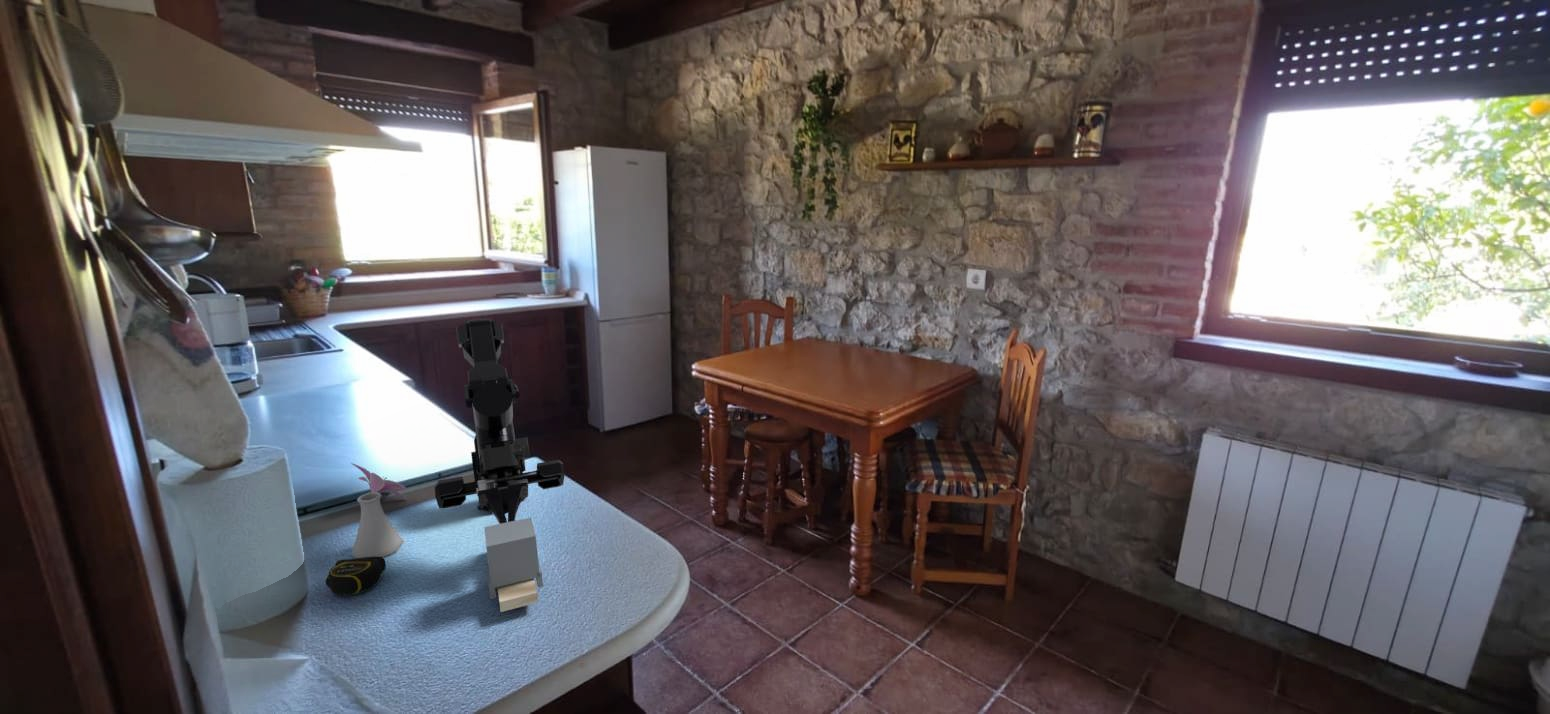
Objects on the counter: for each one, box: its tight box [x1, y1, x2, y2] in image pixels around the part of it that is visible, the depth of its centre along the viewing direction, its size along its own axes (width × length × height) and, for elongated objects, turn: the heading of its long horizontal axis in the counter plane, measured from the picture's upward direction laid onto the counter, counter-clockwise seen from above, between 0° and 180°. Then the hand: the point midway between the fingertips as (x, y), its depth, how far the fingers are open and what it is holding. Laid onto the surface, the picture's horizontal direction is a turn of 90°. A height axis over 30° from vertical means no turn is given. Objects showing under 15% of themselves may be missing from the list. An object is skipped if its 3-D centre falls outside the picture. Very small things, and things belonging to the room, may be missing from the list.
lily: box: [351, 462, 408, 501], centre depth 121 cm, size 11×11×9 cm
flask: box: [350, 491, 405, 559], centre depth 106 cm, size 7×7×10 cm
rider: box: [483, 517, 544, 600], centre depth 95 cm, size 6×7×8 cm
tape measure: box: [325, 557, 387, 596], centre depth 97 cm, size 7×7×4 cm
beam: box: [497, 578, 539, 613], centre depth 99 cm, size 20×5×3 cm, turn 26°
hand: (509, 535), depth 98 cm, fingers closed
